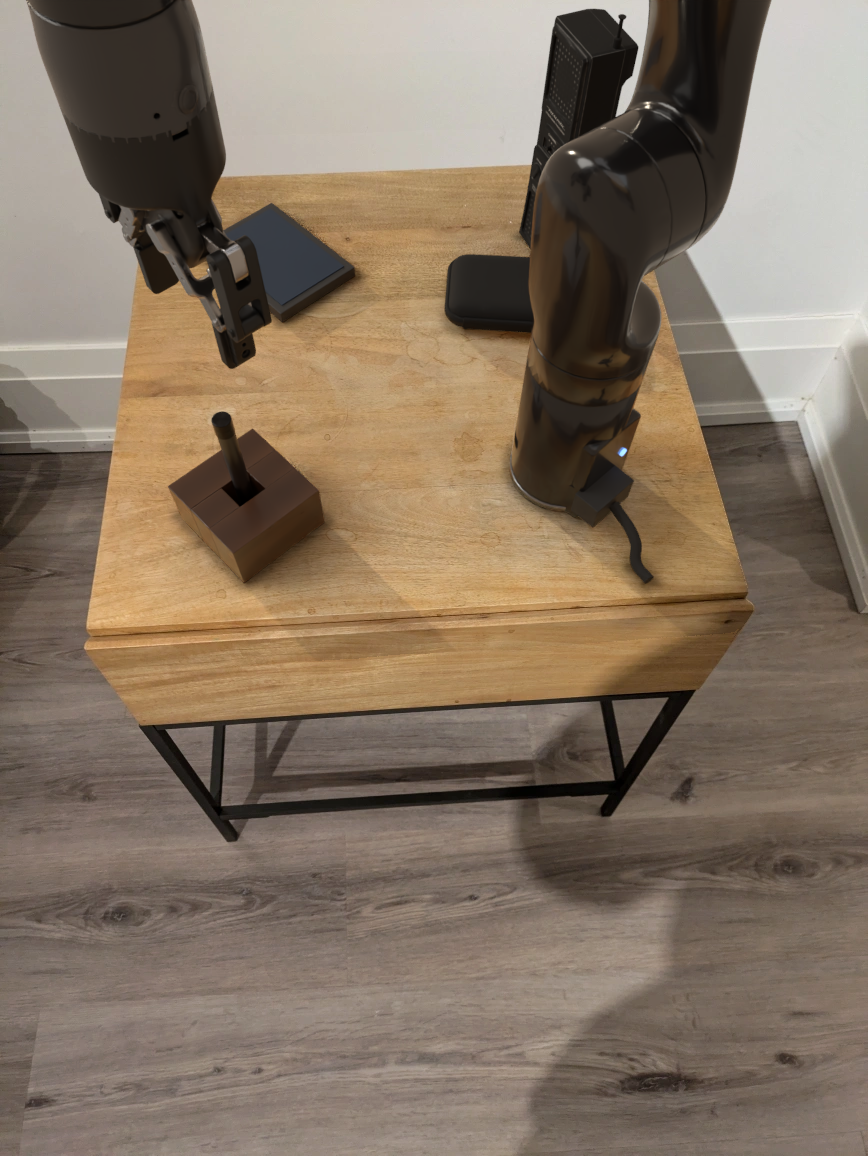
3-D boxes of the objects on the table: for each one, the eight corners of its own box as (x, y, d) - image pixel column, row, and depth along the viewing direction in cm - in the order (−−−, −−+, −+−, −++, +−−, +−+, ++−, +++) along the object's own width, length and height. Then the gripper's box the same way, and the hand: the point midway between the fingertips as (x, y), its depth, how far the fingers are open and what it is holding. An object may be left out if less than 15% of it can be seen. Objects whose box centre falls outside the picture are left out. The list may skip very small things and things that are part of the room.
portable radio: (511, 229, 94) (540, -18, 72) (559, 215, 95) (602, -32, 73) (543, 275, 91) (583, 30, 69) (593, 260, 92) (648, 15, 70)
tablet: (355, 276, 90) (354, 266, 89) (282, 322, 87) (280, 313, 86) (273, 211, 95) (271, 201, 94) (200, 253, 91) (197, 243, 90)
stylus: (265, 520, 75) (235, 419, 63) (251, 530, 75) (219, 430, 62) (254, 510, 76) (223, 407, 63) (241, 520, 75) (206, 418, 63)
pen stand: (325, 522, 75) (319, 490, 71) (244, 583, 72) (232, 553, 68) (262, 462, 78) (252, 427, 74) (181, 518, 75) (167, 486, 71)
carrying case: (442, 342, 86) (587, 351, 85) (442, 319, 83) (592, 328, 83) (448, 269, 91) (585, 277, 91) (449, 245, 88) (590, 253, 88)
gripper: (-9, 44, 43) (94, 289, 57) (150, 191, 38) (218, 417, 53) (119, -9, 45) (187, 239, 60) (283, 124, 41) (313, 357, 55)
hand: (201, 322), depth 56 cm, fingers open, 8 cm apart
